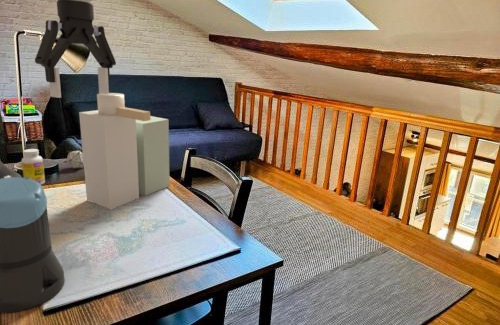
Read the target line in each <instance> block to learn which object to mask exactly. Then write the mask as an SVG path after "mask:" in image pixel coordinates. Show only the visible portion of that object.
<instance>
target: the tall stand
mask: <svg viewBox="0 0 500 325" xmlns="http://www.w3.org/2000/svg"><path fill="white" fill-rule="evenodd" d="M78 113H79V125H80V126H79V127H80V135H81V136H80V137H81V149H82V153H83V161H84V167H83V170H84V171H83V172H84V180H85V182H84V183H85V192H86V201H88V200H89V201H88V202H90V201H92V202H91V203H93V202H94V203H93V204H95V203H97V204H96V205H98V204H99V205H98V206H100V205H101V207H103V206H104V208H105V207H106V208H105V209H108V210H112V209H115V208H117V206H118V207H120V206H123V205H125V204H127V203H130V202H133V201H136V200H138V199H140V193H139V184H138V161H137V138H136V119H131V118H126V117H121V116H104V115H99V114H98V109H96V110H89V111H79V112H78ZM135 199H136V200H135ZM122 204H123V205H122ZM114 207H115V208H114Z"/></svg>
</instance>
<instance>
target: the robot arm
mask: <svg viewBox="0 0 500 325" xmlns="http://www.w3.org/2000/svg"><path fill="white" fill-rule="evenodd" d="M93 1H94V0H56V11H57V16H58V18H59V22H58V21H57V20H50V19H49V20H48V19H47V20H46V21H45V32H44V35H43V37H42V40H41V43H40V45H39V48H38V51H37V53H36V56H35V58H34V63H35V64H36V65H37V64H38V65H41V67H43V68H44V71H45V72H44V74H45V81H46V82H47V83H48V84H49V85H48V86H49V95H50V97H51V98H59V99H60V98H61V99H62V91H61V90H62V89H61V79H60V68H59V67H56V66H57V64H58V62H60V60H61V58H62V57H63V55H64V53H65V52H66V50H67V49H68V48H69V47H70V45H72V44H76V45H77V44H78V45H84V46H85V47H86V48H87V49H88V51H89V52H90V53H91V55H92V57H94V58H95V59H94V60H96V62H97V63H98V64H99V66H100V67H97V79H98V94H100V93H102V94H109V93H110V91H109V88H110V87H109V86H110V85H109V81H110V77H111V73H110V71H111V70H110V69H112V68H113V66H116V65H117V64H116V63H117V62H116V59H115V56H114V54H113V52H112V48H111V47H110V45H109V42H108V40H107V38H106V32H105V27H104V26H101V25H94V24H93V21H94V19H95V17H94V16H95V15H94V14H95V13H94V5H93V3H92V2H93ZM59 31H60V33H61V34H60V35H59V37H58V38H57V36H58V34H59ZM93 35H94V36H93ZM56 40H57V42H56ZM55 42H56V43H55ZM47 205H48V200H47V196H46V194H45V189H44V188H43V185H40V184H39V183H38V182H36V181H34V180H31V179H25V178H24V177H22V176H21V175H20V174H19V173H17V172H16V171H15V170H12V169H11V168H9V167H8V166H7V165H5V164H4V163H3V162H2V161H1V160H0V313H14V312H15V313H16V312H21V311H26V310H29V309H32V308H34V307H37V306H40V305H42V304H43V303H45V302H47V301H49V300H51V299H52V298H53V297H55V296H56V295H57V294H58V293H59V292H60V291H61V290H62V288H63V287H64V285H65V282H66V281H65V280H66V279H65V271H64V268H63V266H62V265H61V263H60V261H59V259H58V258H57V256H56V254H55V253H54V251H53V249H52V248H53V247H52V241H51V240H52V238H51V232H50V230H51V229H50V224H49V214H48V208H47Z"/></svg>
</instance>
